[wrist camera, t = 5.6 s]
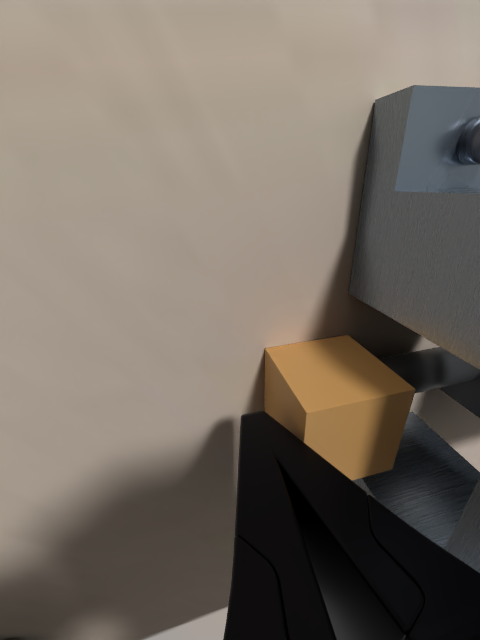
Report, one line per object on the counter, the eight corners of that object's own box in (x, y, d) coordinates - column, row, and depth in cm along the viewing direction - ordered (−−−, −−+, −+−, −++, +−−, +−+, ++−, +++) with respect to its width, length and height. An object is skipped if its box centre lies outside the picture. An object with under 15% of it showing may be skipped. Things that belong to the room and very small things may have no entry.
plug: (264, 428, 11) (314, 545, 7) (265, 334, 9) (331, 429, 6) (528, 369, 14) (657, 434, 10) (567, 288, 12) (739, 333, 8)
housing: (318, 506, 14) (415, 701, 9) (375, 99, 7) (1020, -147, 2) (390, 486, 15) (517, 652, 10) (503, 103, 8) (1198, -58, 3)
